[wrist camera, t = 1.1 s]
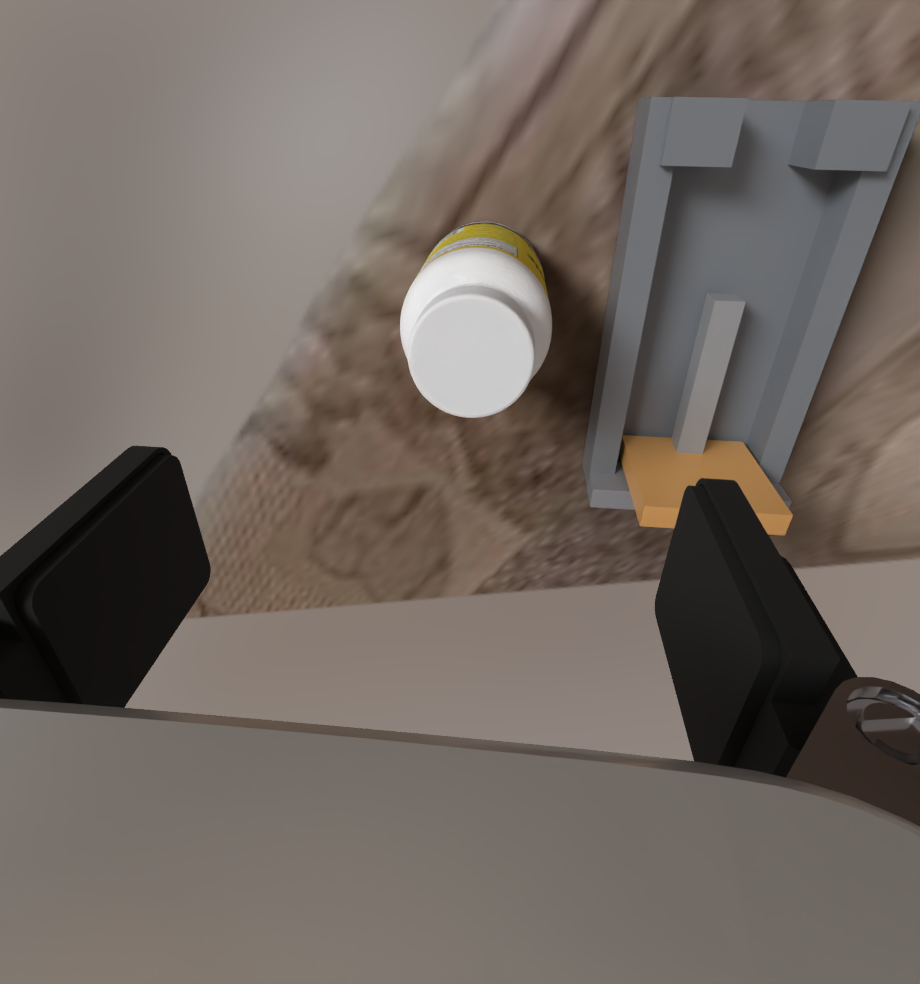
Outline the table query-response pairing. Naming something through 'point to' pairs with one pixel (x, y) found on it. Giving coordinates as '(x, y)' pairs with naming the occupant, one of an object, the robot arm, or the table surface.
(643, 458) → the pusher
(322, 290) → the table surface
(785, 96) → the table surface
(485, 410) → the supplement bottle
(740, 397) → the lane base
